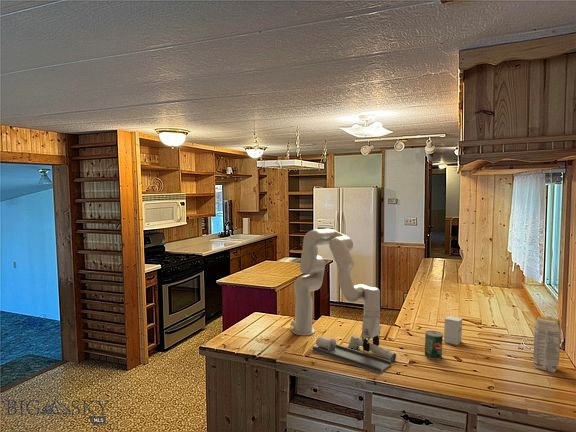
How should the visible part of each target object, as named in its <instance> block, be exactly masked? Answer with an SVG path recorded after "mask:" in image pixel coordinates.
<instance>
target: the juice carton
mask: <svg viewBox="0 0 576 432" xmlns="http://www.w3.org/2000/svg"><path fill="white" fill-rule="evenodd" d="M561 330H562V326H561V321H560V318H553V315H550V314H545V316H542V315H538V316H537V318H536V319H535V323H534V337H533V353H532V355H533V357H532V359H533V360H532V361H533V365H534V368H535V369H538V370H543V371H545V372H550V373H556V371H557V370H558V366H559V365H560V364H559V363H560V352H561V351H560V350H561V332H562V331H561Z"/></svg>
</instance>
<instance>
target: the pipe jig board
mask: <svg viewBox="0 0 576 432" xmlns="http://www.w3.org/2000/svg"><path fill="white" fill-rule="evenodd" d="M315 343H316V344H315V345H316V346H312V352H313V353H316V354H320V355H322V356H325V357H328V358H331V359H335V360H337V361H340V362H343V363H346V364H349V365H351V366H356V367H359V368H361V369H364V370H367V371H370V372H373V373H376V374H379V375H381V374H382V373H384V372H385V371H387V370H388V369H389V368H390V366H391V367H392V361H390V360H388V359H385V358H384V357H381V356H376V355H373V354H370V353H367V352H363V351H360V350H358V349H356V350H355V349H351V348H350V347H347V346H343V345H340V344H337V340H336V339H335V338H334V337H333V338H328V337H324V336H320V335H319V336H318V337H317V338H316V342H315Z"/></svg>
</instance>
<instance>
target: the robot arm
mask: <svg viewBox="0 0 576 432" xmlns="http://www.w3.org/2000/svg"><path fill="white" fill-rule="evenodd" d="M302 241H303V242H302V251H301V257H300V262H299V271H300V272H301V273H302V274H304V275H300V276H298V277H297V278H296V279H295V280H294V283H293V287H294V295H295V310H294V311H295V313H294V314H295V315H294V317H295V319H294V321H293V320H292V321H290V325H289V326H292V327H293V328H292V331H291V332H292V333H293V334H295V335H298V336H312V335H314V334H315V333H316V330H315V328H313V302H314V301H313V297H312V294H311V293H312V292H314V291H318V290H319V289H321V287H322V285H323V280H324V275H325V268H326V263H325V260H324V258H323V257H322V256H320V255H319V248H318V246H325V245H328V246H329V250H330V251H331V252H330V253H331V254H332V256H333V259H334V261H335V263H336V265H337V268H338V284H339V285H338V286H339V288H340V290H341V293H342V295H343V297H344V298H345V300H346V301H348V302H349V303H356V302H359V301H362V300H363V319H362V325H361V326H362V327H361V339H362V341H363V347H362V351H365V352H366V353H367V352H370V343H371V342H370V340H371V339H372V344H374V345H377V346H379V347H380V337H381V336H380V334H381V329H382V327H381V326H380V325H381V324H380V322H381V321H380V316H381V313H380V312H381V311H380V310H381V290H380V289H379V287H376V286H375V287H374V286H369V285H366V284H363V283H360V284H356V285H354V284H353V282H352V279H351V272H352V269H353V267H354V266H355V261H354V259H353V256H352V254H351V252H350V251H352V249H353V247H354V242H353V241H352V238H351V237H350V236H348V235H345V234H343V233H341V232H339V231H337V230H336V229H332V228H320V229H311V230H310V231H308V232H306V233H305V235H304V237H303V240H302Z"/></svg>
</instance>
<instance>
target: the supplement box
mask: <svg viewBox="0 0 576 432" xmlns="http://www.w3.org/2000/svg"><path fill="white" fill-rule="evenodd" d="M443 330H444V331H443V342H444V343H447V344H450V345H451V344H452V345H456V346H458V345H459V344H460V343H461V342H462V332H463V318H462V317H458V316H457V317H456V316H453V315H452V316H451V315H447V317H445V318H444V329H443Z"/></svg>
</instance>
